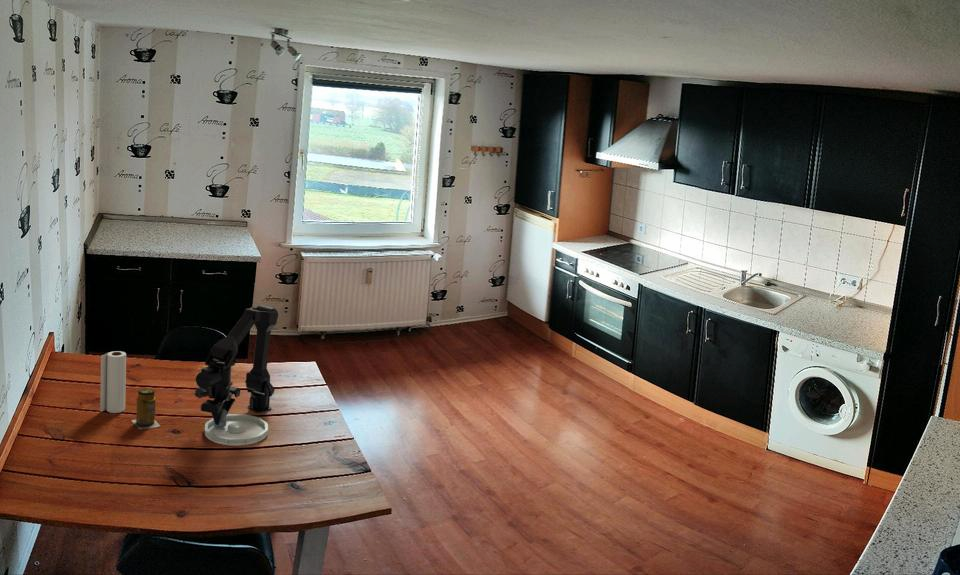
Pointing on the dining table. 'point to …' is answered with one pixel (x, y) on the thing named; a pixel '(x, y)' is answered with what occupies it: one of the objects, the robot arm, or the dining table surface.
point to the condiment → (145, 409)
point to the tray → (248, 433)
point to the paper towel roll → (113, 382)
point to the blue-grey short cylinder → (222, 421)
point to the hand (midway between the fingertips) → (219, 422)
